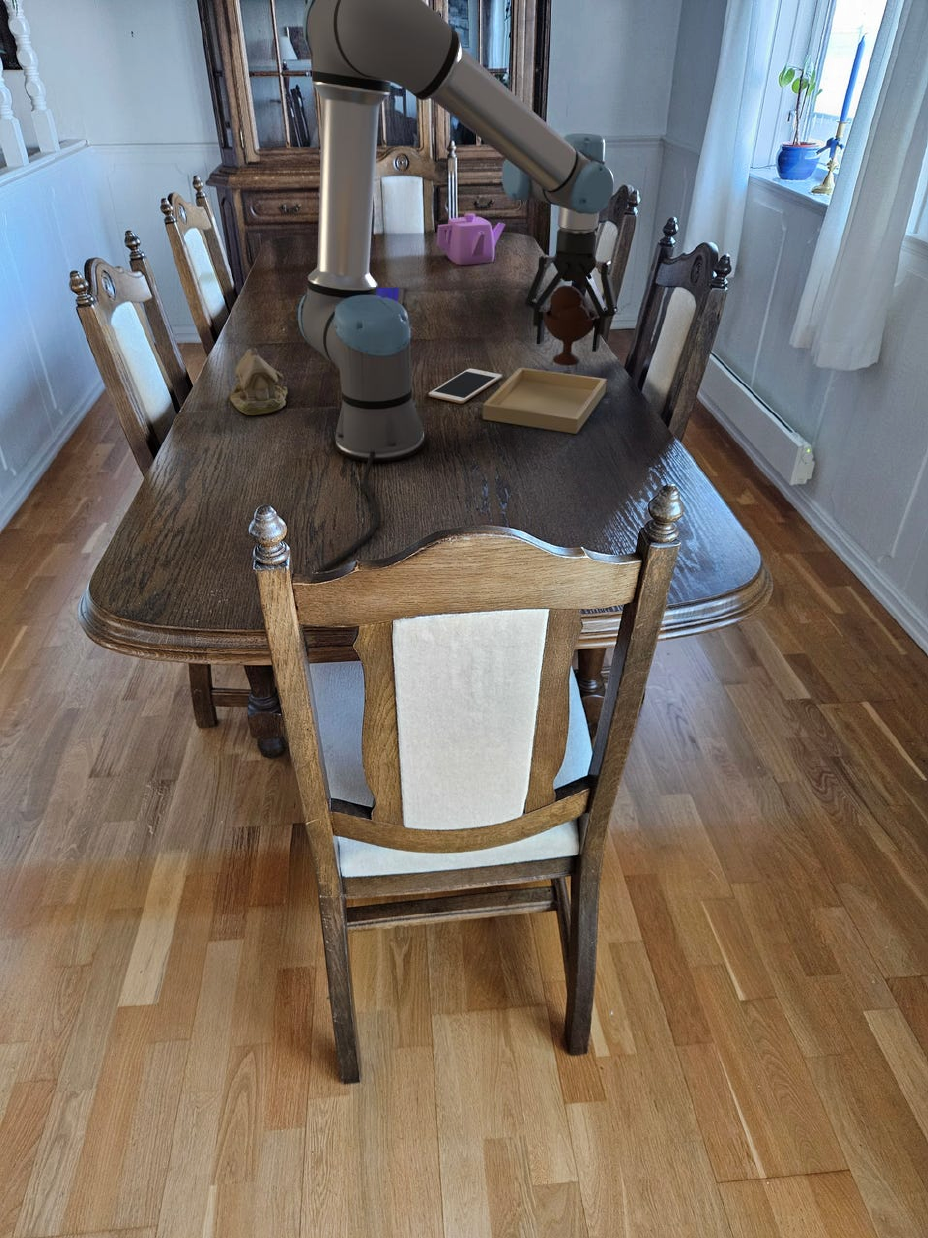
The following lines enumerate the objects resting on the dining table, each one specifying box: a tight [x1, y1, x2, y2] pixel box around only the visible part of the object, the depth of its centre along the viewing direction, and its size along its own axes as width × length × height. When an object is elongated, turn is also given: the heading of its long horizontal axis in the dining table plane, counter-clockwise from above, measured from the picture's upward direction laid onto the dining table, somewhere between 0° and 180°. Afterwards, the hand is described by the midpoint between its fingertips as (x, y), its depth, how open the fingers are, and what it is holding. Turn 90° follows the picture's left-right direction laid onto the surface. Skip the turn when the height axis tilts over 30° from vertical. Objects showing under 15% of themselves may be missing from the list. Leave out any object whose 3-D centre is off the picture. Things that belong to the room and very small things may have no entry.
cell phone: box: [428, 367, 503, 404], centre depth 164 cm, size 8×16×1 cm, turn 149°
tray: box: [482, 366, 608, 435], centre depth 156 cm, size 21×18×3 cm
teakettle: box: [436, 212, 506, 266], centre depth 244 cm, size 17×17×12 cm
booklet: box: [377, 287, 405, 306], centre depth 209 cm, size 12×25×1 cm, turn 1°
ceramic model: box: [229, 347, 288, 416], centre depth 156 cm, size 14×11×10 cm
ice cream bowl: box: [542, 284, 599, 367], centre depth 166 cm, size 11×11×15 cm
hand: (567, 345), depth 168 cm, fingers closed on ice cream bowl, 11 cm apart
